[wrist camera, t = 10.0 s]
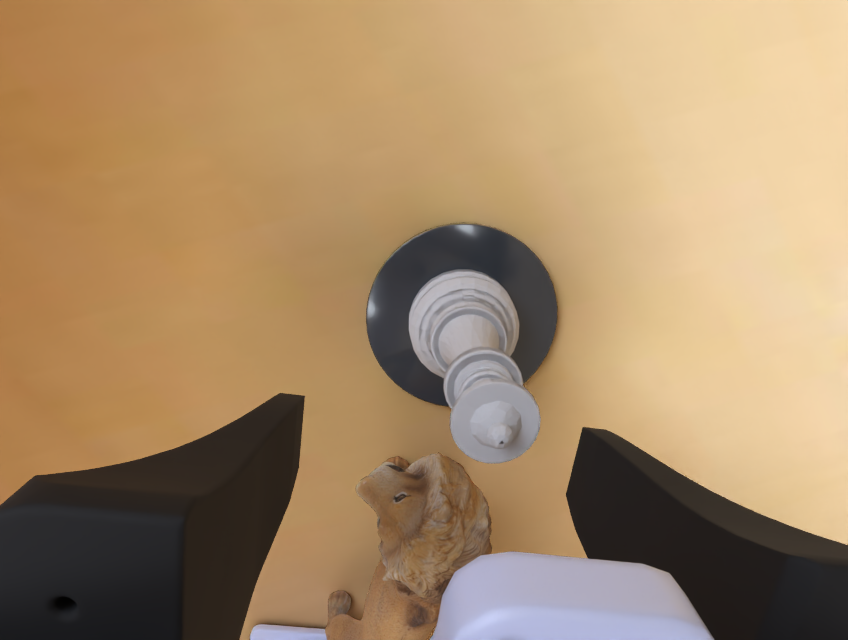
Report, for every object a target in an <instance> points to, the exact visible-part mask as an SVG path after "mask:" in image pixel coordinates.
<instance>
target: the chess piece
mask: <svg viewBox="0 0 848 640" xmlns="http://www.w3.org/2000/svg"><path fill="white" fill-rule="evenodd" d="M409 333H410V338H411V342H412V345H413V349H414V351H415V353H416V355H417V356H418V358H419V360H420V361H421V363H422V364H424V365H425V366H426V367H427V368H428V369H429V370H430V371H431V372H433V373H435V374H437V375H438V376H440V377H442V378H444V384H443V389H444V394H445V398H446V401H447V403H448V405H449V406H450V408H451V409H452V410H451V413H450V429H451V433H452V437H453V439H454V441H455V443H456V444H457V446H458V448H459V449H460V450H462V451H463V452H464V453H465V454H466V455H467V456H469V457H471V458H473V459H474V460H476V461H480V462H484V463H503V462H507V461H511V460H513V459H515V458H517V457H519V456H521V455H522V454H523V453H524V452H525V451H527V450H528V449H529V448H530V447H531V445H532V444H533V443H534V441H535V440H536V437H537V435H538V432H539V430H540V419H541V417H540V412H539V407H538V405H537V403H536V401H535V399H534V397H533V396H532V394H531V393H530V392H529V391H528V390H527V389H526V388H525V387H523V379H522V375H521V372H520V370H519V368H518V366H517V364H516V363H515V361H514V360H513V359H512V358H511V357H510V356H511V354H512V353H513V351H514V349H515V346H516V344H517V341H518V337H519V320H518V315H517V311H516V309H515V307H514V304H513V302H512V300H511V298H510V296H509V295H508V293H507V291H506V290H505V289H504V288H503V287H502V286H501V285H500V284H499V283H498V282H497V281H496V280H495V279H493V278H491V277H490V276H488V275H486V274H485V273H482V272H478V271H474V270H471V269H456V270H452V271H448V272H444V273H441V274H440V275H438V276H436V277H434V278H432V279H430V280H429V281H428V282H427V283H426V284H425V285H424V286H423V287H422V288H421V289H420V290H419V292H418V294H417V295H416V297H415V298H414V300H413V302H412V306H411V309H410V312H409Z"/></svg>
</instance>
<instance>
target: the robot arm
mask: <svg viewBox="0 0 848 640" xmlns="http://www.w3.org/2000/svg"><path fill="white" fill-rule="evenodd" d="M304 398H305V396H301V395H292V394H283V393H280V394H278V395H276V396H274V397H273V398H271V399H270V400H268V401H266V402H265V403H263V404H262V405H260V406H259V407H257V408H255V409H254V410H252V411H251V412H249V413H247V414H246V415H244V416H242V417H241V418H239V419H237V420H235V421H234V422H232V423H230V424H228V425H226V426H224V427H222V428H220V429H219V430H217V431H215V432H213V433H211V434H209V435H207V436H204V437H202V438H200V439H198V440H195V441H193V442H190V443H188V444H185V445H183V446H180V447H177V448H175V449H172V450H168V451H165V452H162V453H158V454H155V455H152V456H148V457H145V458H142V459H138V460H134V461H130V462H125V463H121V464H116V465H111V466H106V467H101V468H95V469H89V470H82V471H73V472H65V473H56V474H48V475H36V476H34V477H33V478H32V479H30V480H29V481H28V482H27V483H26V484H25V485H23V486H22V487H21V488H20V489H19V490H18V491H16V492H15V493H14V494H13V495H12V496H11V497H9V498H8V499H7V500H6V501H5V502H4V503H3V504H1V505H0V640H239V638H240V635H241V631H242V628H243V624H244V621H245V618H246V614H247V611H248V608H249V604H250V601H251V597H252V594H253V591H254V588H255V585H256V582H257V580H258V577H259V574H260V572H261V569H262V567H263V565H264V562H265V560H266V557H267V555H268V553H269V550H270V548H271V545H272V543H273V541H274V538H275V536H276V533H277V531H278V529H279V526H280V524H281V521H282V519H283V516H284V514H285V512H286V509H287V507H288V504H289V502H290V499H291V495H292V491H293V488H294V484H295V480H296V476H297V472H298V468H299V458H300V446H301V434H302V422H303V410H304ZM566 497H567V501H568V505H569V509H570V513H571V516H572V520H573V523H574V527H575V530H576V532H577V534H578V537H579V539H580V541H581V544H582V546H583V548H584V551H585V553H586V555H587V557H588V558H577V557H567V556H556V555H545V554H535V553H524V552H514V551H512V552H504V553H496V554H488V555H481V556H479V557H477V558H476V559H474V560H473V561H471V562H470V563H468V564H466V565H465V566H463V567H462V568H460V569H459V570H457V571H455V573H454V575H453V576H452V578H451V580H450V582H449V584H448V586H447V588H446V590H445V592H444V593H443V595H442V600H441V605H440V611H439V616H438V621H437V625H436V628H435V631H434V634H433V636H432V637H431V638H430V640H848V545H845V544H842V543H839V542H836V541H833V540H829V539H826V538H823V537H820V536H817V535H814V534H811V533H808V532H805V531H802V530H800V529H797V528H794V527H791V526H789V525H786V524H784V523H781V522H778V521H776V520H773V519H771V518H768V517H766V516H763V515H761V514H759V513H756V512H754V511H752V510H749V509H747V508H745V507H743V506H741V505H739V504H736V503H734V502H732V501H730V500H728V499H726V498H724V497H722V496H720V495H718V494H716V493H714V492H712V491H710V490H708V489H706V488H704V487H703V486H701V485H699V484H697V483H696V482H694V481H692V480H690V479H688V478H687V477H685V476H683V475H681V474H680V473H678V472H676V471H675V470H673V469H671V468H670V467H668V466H667V465H665V464H663V463H662V462H660V461H658V460H657V459H655V458H654V457H652V456H651V455H649V454H647V453H646V452H644V451H643V450H641V449H639V448H638V447H636V446H635V445H633V444H631V443H630V442H628V441H626V440H625V439H623V438H621V437H620V436H618V435H616V434H614V433H612V432H610V431H607V430H604V429H595V428H586V427H583V428H582V432H581V436H580V440H579V444H578V448H577V452H576V457H575V461H574V465H573V469H572V473H571V477H570V481H569V485H568V489H567V493H566ZM250 640H327V638H326V634H325V629H319V628H306V627H293V626H280V625H267V624H258V625H256V626H254V627H253V629H252V632H251V635H250Z"/></svg>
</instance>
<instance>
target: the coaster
mask: <svg viewBox="0 0 848 640" xmlns="http://www.w3.org/2000/svg"><path fill="white" fill-rule="evenodd" d="M456 269H471V270H474V271H478V272H482V273H485V274H486V275H488V276H490V277H491V278H493V279H495V280H496V281H497V282H498V283H499V284H500V285H501V286H502V287H503V288H504V289H505V290H506V291H507V293H508V295H509V296H510V298H511V300H512V302H513V304H514V307H515V309H516V311H517V315H518V320H519V337H518V341H517V344H516V346H515V349H514V351H513V353H512V354H511V356H510V357H511V358H512V359H513V360H514V361H515V363H516V364H517V366H518V368H519V370H520V372H521V375H522V379H523V383H525V382H526V381H527V380H528V379H529V378H530V377H531V376H532V375H533V374H534V373H535V371H536V370H537V369H538V367H539V366H540V365H541V364H542V362H543V360H544V358H545V357H546V355H547V353H548V351H549V349H550V346H551V344H552V341H553V338H554V334H555V330H556V324H557V302H556V295H555V291H554V287H553V284H552V281H551V279H550V277H549V274H548V272H547V271H546V269H545V267H544V266H543V264H542V262H541V261H540V260H539V259H538V257H537V256H536V255H535V254H534V253H533V252H532V251H531V250H530V249H529V248H528V247H527V246H526V245H525V244H524V243H522V242H521V241H519V240H518V239H516V238H515V237H514V236H512V235H510V234H508V233H506V232H504V231H502V230H500V229H497V228H494V227H491V226H487V225H482V224H477V223H451V224H446V225H441V226H437V227H434V228H431V229H428V230H425V231H423V232H421V233H419V234H417V235H415V236H413V237H412V238H410V239H409V240H407V241H406V242H404V243H403V244H402V245H401V246H400V247H398V248H397V249H396V250H395V251H394V252H393V253H392V254H391V255H390V256H389V258H388V259H387V260H386V261H385V263H384V264H383V266H382V267H381V269H380V270H379V272H378V274H377V276H376V278H375V280H374V282H373V285H372V288H371V291H370V294H369V298H368V304H367V312H366V324H367V333H368V338H369V342H370V345H371V348H372V350H373V353H374V355H375V357H376V359H377V361H378V363H379V364H380V366H381V367H382V369H383V370H384V371H385V373H386V374H387V375H388V376H389V377H390V378H391V379H392V380H393V381H394V382H395V383H396V384H397V385H398V386H400V387H401V388H402V389H403V390H405V391H406V392H408V393H410V394H411V395H413V396H415V397H417V398H419V399H422V400H424V401H427V402H430V403H433V404H437V405H442V406H448V407H450V406H449V405H448V403H447V401H446V398H445V394H444V389H443V384H444V378H442V377H440V376H438V375H437V374H435V373H433V372H431V371H430V370H429V369H428V368H427V367H426V366H425V365H424V364H422V363H421V361H420V360H419V358H418V356H417V355H416V353H415V351H414V349H413V345H412V342H411V338H410V333H409V312H410V309H411V306H412V302H413V300H414V298H415V297H416V295H417V294H418V292H419V290H420V289H421V288H422V287H423V286H424V285H425V284H426V283H427V282H428V281H429V280H430V279H432V278H434V277H436V276H438V275H440V274H441V273H444V272H448V271H452V270H456Z"/></svg>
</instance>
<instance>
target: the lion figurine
mask: <svg viewBox="0 0 848 640" xmlns="http://www.w3.org/2000/svg"><path fill="white" fill-rule="evenodd" d="M356 492H357V494H358V495H359V496H360V497H361V498H362V499H363V500H364V501H365V502H366V503H367V504H369V505H370V506H371V507H372V508H373V509H374V511H375V512H376V513H377V516H378V519H377V527H378V534H379V536H380V537H381V540H382V541H381V543H380V545H379V550H380V552H381V554H382V558H381V560H380V562H379V564H378V566H377V568H376V571H375V573H374V576H373V579H372V582H371V584H370V588H369V591H368V594H367V597H366V602H365V607H364V614H363V618H362V619H361V620H357V619H354V618H352V617H351V616H349V615H347V614H346V613H347V611H348V610H349V608H350V604H351V598H350V596H349V595H348V594H347V593H346V592H345V591H335V592H333V593H332V594H331V595H330V596H329V599H328V624H327V626H326V628H325V634H326V638H327V640H427V638H428V637H429V635H430V633H431V632H432V630H433V629H434V627H435V625H436V624H437V621H438V616H439V611H440V605H441V600H442V595H443V593H444V592H445V590H446V588H447V586H448V584H449V582H450V580H451V578H452V576H453V575H454V573H455V571H457V570H459V569H460V568H462V567H463V566H465V565H466V564H468V563H470V562H471V561H473V560H474V559H476V558H477V557H479V556H481V555H488V554H491V551H492V546H491V543H490V539H489V537H490V535H491V526H490V525H491V518H490V515H489V506H488V503H487V501H486V499H485V497H484V496H483V493H482V491H481V490H480V489H479V488H478V487H477V486H476V485H474V483H473V482H472V481H471V479H470V477H469V476H468V475H467V474H466V473H465V471H464V468H463V467H462V466H461V465H460V464H459V463H456V462H454V461H453V460H452V459H450V458H449V457H447V456H443V455H442V454H441V453H439V452H438V453H437V454H430V455H429V456H424V457H421V458H420V459H419V460H417V461H415V462H414V463H412V464H411V465H410V466H409V465H408V463H407V461H406V460H404V459H402V458H401V457H399V456H397V457H393V458H389V459H388V460H387V461H385V462H384V463H382V464H381V465H380V466H379V467H378V468H376V469H375V470H374V471H372V472H371V473H370V474H369V475H368V476H366V477H364V478H363V479H361V480H360V482H359V483H358V484H357V486H356Z"/></svg>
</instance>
